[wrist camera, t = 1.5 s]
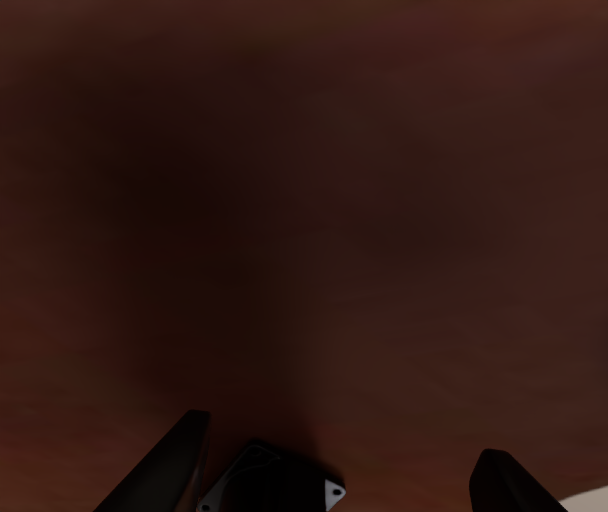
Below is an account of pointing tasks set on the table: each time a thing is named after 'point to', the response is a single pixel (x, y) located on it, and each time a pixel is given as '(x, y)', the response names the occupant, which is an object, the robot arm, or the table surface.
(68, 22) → the table surface
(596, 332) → the table surface
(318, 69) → the table surface
